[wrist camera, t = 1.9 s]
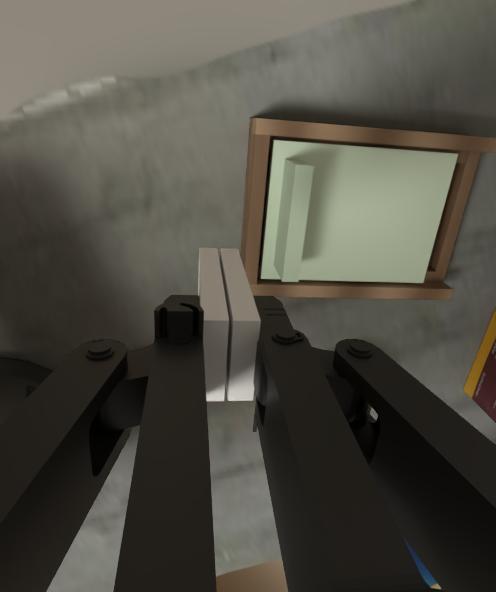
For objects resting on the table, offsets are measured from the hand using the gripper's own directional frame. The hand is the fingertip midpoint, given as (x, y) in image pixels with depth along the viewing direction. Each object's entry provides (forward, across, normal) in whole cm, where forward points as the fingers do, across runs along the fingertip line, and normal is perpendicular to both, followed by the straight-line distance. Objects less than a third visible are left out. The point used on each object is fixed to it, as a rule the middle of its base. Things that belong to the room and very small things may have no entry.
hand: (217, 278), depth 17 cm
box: (+16, -12, 0) cm, 20 cm away
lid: (+14, -11, 0) cm, 18 cm away
